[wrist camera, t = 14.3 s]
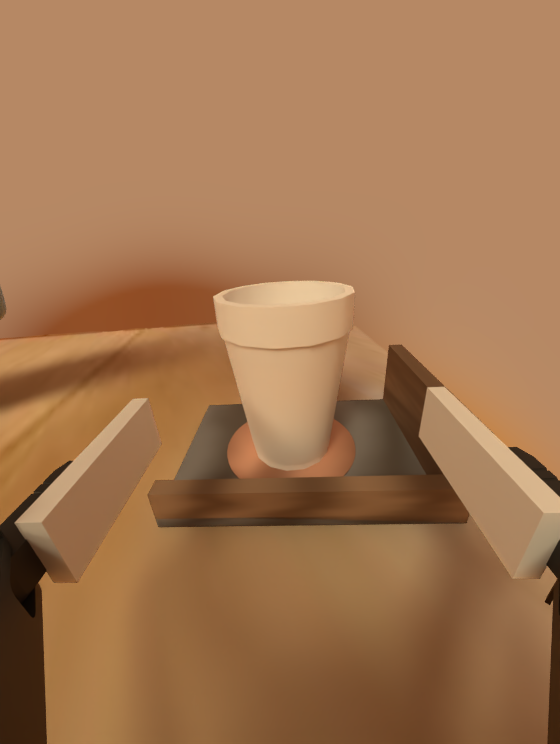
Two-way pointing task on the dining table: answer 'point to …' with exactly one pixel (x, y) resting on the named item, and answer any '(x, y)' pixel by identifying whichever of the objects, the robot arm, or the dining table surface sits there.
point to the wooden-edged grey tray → (318, 468)
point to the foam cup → (287, 363)
